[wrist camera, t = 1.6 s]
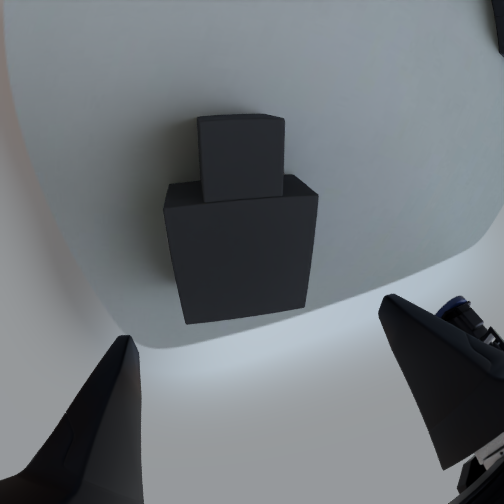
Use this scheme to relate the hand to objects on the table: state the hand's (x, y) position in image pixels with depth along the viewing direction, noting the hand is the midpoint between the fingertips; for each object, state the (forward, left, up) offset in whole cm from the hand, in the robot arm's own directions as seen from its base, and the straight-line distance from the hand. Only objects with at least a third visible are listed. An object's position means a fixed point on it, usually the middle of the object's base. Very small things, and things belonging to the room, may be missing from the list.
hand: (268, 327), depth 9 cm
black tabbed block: (+2, 0, -7) cm, 7 cm away
